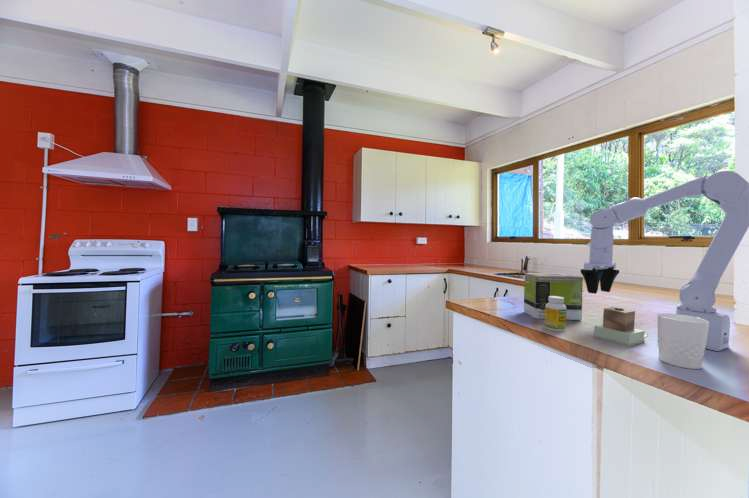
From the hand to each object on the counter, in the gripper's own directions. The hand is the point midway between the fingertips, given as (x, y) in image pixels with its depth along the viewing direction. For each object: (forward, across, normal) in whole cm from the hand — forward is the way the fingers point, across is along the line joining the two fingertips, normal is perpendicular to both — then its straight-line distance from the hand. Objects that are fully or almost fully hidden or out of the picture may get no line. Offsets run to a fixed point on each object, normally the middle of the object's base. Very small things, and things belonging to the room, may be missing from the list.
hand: (598, 292), depth 95 cm
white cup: (+11, +16, +24) cm, 31 cm away
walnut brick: (+7, +10, +10) cm, 16 cm away
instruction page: (+10, +2, +8) cm, 13 cm away
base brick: (+10, +10, +10) cm, 18 cm away
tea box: (+11, +3, -13) cm, 17 cm away
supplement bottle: (+11, +17, -3) cm, 20 cm away
